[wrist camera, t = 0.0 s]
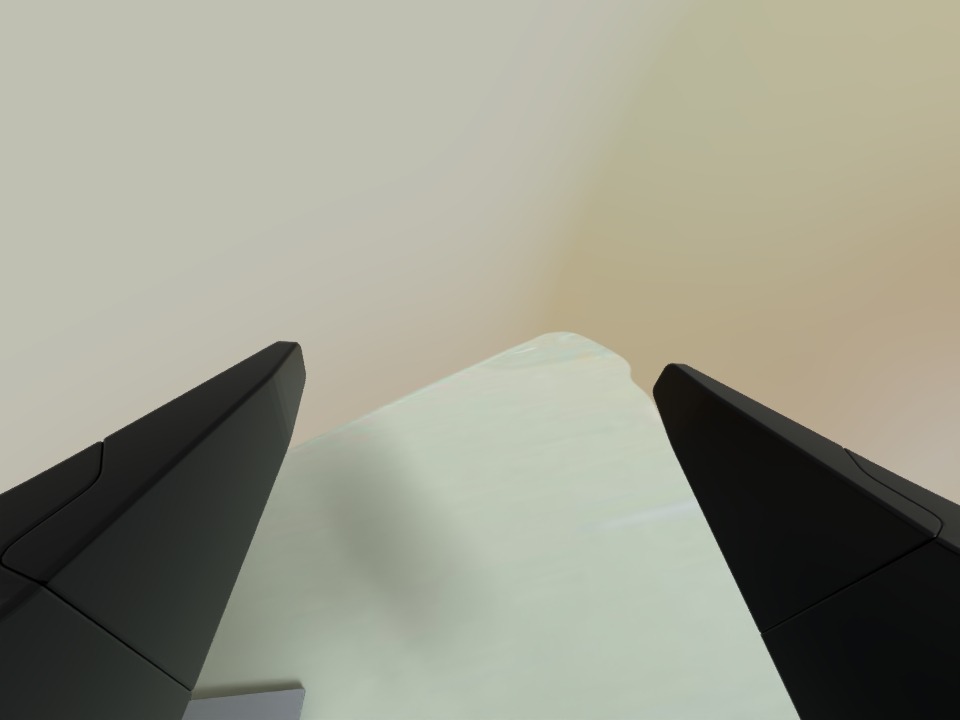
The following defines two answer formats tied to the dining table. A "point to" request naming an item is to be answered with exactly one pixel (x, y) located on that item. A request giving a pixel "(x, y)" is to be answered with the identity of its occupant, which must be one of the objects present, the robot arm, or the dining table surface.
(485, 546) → the dining table surface
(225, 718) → the mat
